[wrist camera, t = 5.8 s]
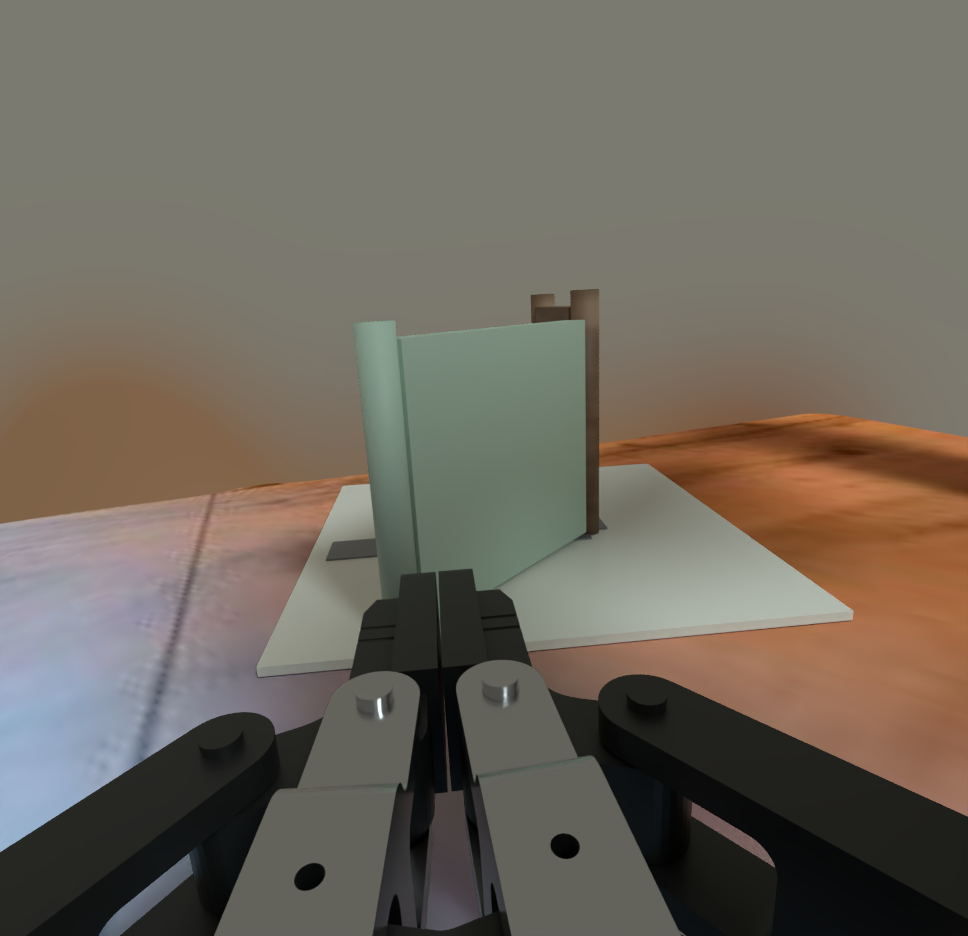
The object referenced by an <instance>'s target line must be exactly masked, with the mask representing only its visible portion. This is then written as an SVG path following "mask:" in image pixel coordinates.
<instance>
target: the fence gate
mask: <svg viewBox="0 0 968 936" xmlns="http://www.w3.org/2000/svg"><path fill="white" fill-rule="evenodd" d="M353 332H354V341H355V350H356V360H357V368H358V379H359V388H360V397H361V406H362V416H363V426H364V434H365V444H366V453H367V463H368V473H369V482H370V491H371V501H372V510H373V519H374V529H375V538H376V548H377V557H378V566H379V576H380V585H381V595H382V599H393V598H399V588H400V578H401V575H402V574H413V573H425V572H436V583H437V596H438V608H439V621H440V600H439V574H438V571H448V570H460V569H473V575H474V581H475V587H476V591H484V590H492V589H494V588H495V587H497V586H499V585H500V584H502V583H504V582H505V581H507V580H509V579H510V578H512V577H513V576H515V575H517V574H518V573H520V572H522V571H523V570H525V569H527V568H528V567H530V566H531V565H533V564H535V563H536V562H538V561H540V560H541V559H543V558H545V557H546V556H548V555H550V554H551V553H553V552H554V551H556V550H558V549H559V548H561V547H563V546H564V545H566V544H568V543H569V542H571V541H573V540H574V539H576V538H577V537H579V536H581V535H582V534H584V533H586V396H585V320H562V321H552V322H542V323H532V324H522V325H513V326H502V327H493V328H482V329H473V330H463V331H452V332H442V333H432V334H422V335H413V336H402V337H396V327H395V321H376V322H375V321H373V322H358V323H353Z"/></svg>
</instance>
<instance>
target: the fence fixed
mask: <svg viewBox="0 0 968 936" xmlns="http://www.w3.org/2000/svg"><path fill="white" fill-rule="evenodd" d="M570 293H571V306H555V301H554V294H539V295H531V318H532V323H542V322H552V321H562V320H585V396H586V533H584V534H590V535H595V534H597V533H599V289H589V290H572V291H570Z"/></svg>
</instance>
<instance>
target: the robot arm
mask: <svg viewBox="0 0 968 936" xmlns="http://www.w3.org/2000/svg"><path fill="white" fill-rule="evenodd" d="M438 574H439V600H440V621H439V608H438V596H437V583H436V572H425V573H413V574H402V575H401V578H400V588H399V598H393V599H382V600H376V601H375V602H374V603H373V604H372V605H371V606H370V607H369V608H368V609H367V610H366V611H365V612H364V614H363V618H362V623H361V631H360V633H359V637H358V643H357V647H356V651H355V656H354V661H353V665H352V670H351V675H350V680H349V681H347V682H346V683H344V684H343V685H341V686H340V687H339V688H338V689H337V690H336V691H335V692H334V694H333V695H332V697H331V699H330V701H329V704H328V706H327V709H326V712H325V714H324V717H322V718H321V719H319V720H317V721H315V722H312V723H310V724H308V725H305V726H302V727H299V728H296V729H293V730H290V731H287V732H284V733H280V734H277V735H275V729H274V726H273V724H272V722H271V721H270V720H269V719H268V718H266V717H265V716H262V715H260V714H256V713H249V712H241V713H232V714H227V715H223V716H219V717H217V718H214V719H211V720H209V721H207V722H204V723H202V724H201V725H199V726H197V727H195V728H194V729H192V730H190V731H189V732H187V733H186V734H184V735H183V736H181V737H180V738H178V739H176V740H175V741H173V742H172V743H170V744H169V745H167V746H166V747H164V748H162V749H161V750H159V751H158V752H156V753H155V754H153V755H151V756H150V757H148V758H147V759H145V760H144V761H142V762H141V763H139V764H137V765H136V766H134V767H133V768H131V769H130V770H128V771H126V772H125V773H123V774H122V775H120V776H119V777H117V778H116V779H114V780H112V781H111V782H109V783H108V784H106V785H105V786H103V787H101V788H100V789H98V790H97V791H95V792H94V793H92V794H91V795H89V796H87V797H86V798H84V799H83V800H81V801H80V802H78V803H76V804H75V805H73V806H72V807H70V808H69V809H67V810H66V811H64V812H62V813H61V814H59V815H58V816H56V817H55V818H53V819H51V820H50V821H48V822H47V823H45V824H44V825H42V826H41V827H39V828H37V829H36V830H34V831H33V832H31V833H30V834H28V835H27V836H25V837H23V838H22V839H20V840H19V841H17V842H16V843H14V844H12V845H11V846H9V847H8V848H6V849H5V850H3V851H2V852H0V936H99V934H100V932H101V930H102V929H103V927H104V926H105V925H106V923H107V922H108V921H109V919H110V918H111V917H112V916H113V915H114V914H115V913H116V912H117V911H118V910H120V909H121V908H122V907H123V906H124V905H126V904H127V903H128V902H129V901H131V900H132V899H133V898H134V897H135V896H137V895H138V894H139V893H140V892H142V891H143V890H144V889H145V888H146V887H148V886H149V885H150V884H151V883H153V882H154V881H155V880H156V879H158V878H159V877H160V876H161V875H162V874H164V873H165V872H166V871H167V870H169V869H170V868H171V867H172V866H174V865H175V864H176V863H177V862H178V861H180V860H181V859H182V858H183V857H185V856H186V855H187V854H188V853H189V856H190V860H191V864H192V869H193V874H192V875H191V876H190V877H189V878H187V879H186V880H185V881H184V882H183V883H182V884H180V885H179V886H178V887H177V888H176V889H174V890H173V891H172V892H171V893H170V894H169V895H167V896H166V897H165V898H164V899H163V900H162V901H160V902H159V903H158V904H157V905H156V906H154V907H153V908H152V909H151V910H150V911H149V912H147V913H146V914H145V915H144V916H143V917H142V918H140V919H139V920H138V921H137V922H136V923H134V924H133V925H132V926H131V927H130V928H129V929H127V930H126V931H125V932H124V933H123V934H121V935H120V936H683V935H681V934H680V932H679V930H680V931H681V932H682V933H683V934H685V935H686V936H968V817H967V816H965V815H963V814H961V813H958V812H956V811H954V810H952V809H950V808H947V807H945V806H943V805H941V804H939V803H936V802H934V801H932V800H930V799H928V798H925V797H923V796H921V795H919V794H917V793H914V792H912V791H910V790H908V789H906V788H904V787H901V786H899V785H897V784H895V783H893V782H890V781H888V780H886V779H884V778H882V777H879V776H877V775H875V774H873V773H871V772H868V771H866V770H864V769H862V768H860V767H857V766H855V765H853V764H851V763H849V762H847V761H844V760H842V759H840V758H838V757H836V756H833V755H831V754H829V753H827V752H825V751H822V750H820V749H818V748H816V747H814V746H811V745H809V744H807V743H805V742H803V741H800V740H798V739H796V738H794V737H792V736H790V735H787V734H785V733H783V732H781V731H779V730H776V729H774V728H772V727H770V726H768V725H765V724H763V723H761V722H759V721H757V720H754V719H752V718H750V717H748V716H746V715H743V714H741V713H739V712H737V711H735V710H733V709H730V708H728V707H726V706H724V705H722V704H719V703H717V702H715V701H713V700H711V699H708V698H706V697H704V696H702V695H700V694H697V693H695V692H693V691H691V690H689V689H686V688H684V687H682V686H680V685H678V684H676V683H673V682H671V681H669V680H666V679H663V678H660V677H656V676H650V675H626V676H622V677H618V678H616V679H613V680H611V681H610V682H608V683H607V684H606V685H605V686H604V687H603V688H602V689H601V691H600V693H599V699H598V701H596V700H588V699H580V698H574V697H569V696H565V695H561V694H559V693H556V692H554V691H552V690H550V689H548V688H547V686H546V684H545V681H544V679H543V677H542V676H541V674H540V673H539V672H538V671H537V670H535V669H534V668H533V667H532V665H531V662H530V658H529V655H528V652H527V648H526V645H525V641H524V638H523V634H522V631H521V628H520V624H519V620H518V617H517V613H516V610H515V606H514V603H513V600H512V599H511V598H510V597H508V596H507V595H506V594H505V593H503V592H502V591H501V590H500V589H495V590H484V591H476V587H475V581H474V575H473V569H460V570H448V571H438ZM440 627H441V634H440ZM443 686H444V687H443ZM444 699H445V712H446V725H447V737H448V750H449V763H450V776H451V788H452V791H459V790H463V793H464V806H465V819H466V833H467V841H468V847H469V853H470V859H471V866H472V872H473V878H474V884H475V890H476V896H477V902H478V909H479V915H480V918H479V919H476V920H474V921H471V922H469V923H466V924H464V925H461V926H459V927H456V928H453V929H450V930H444V931H436V930H428V929H426V921H427V909H428V896H429V883H430V870H431V858H432V845H433V831H432V820H433V817H434V810H435V796H434V793H443V792H448V788H447V763H446V738H445V712H444ZM692 802H694V803H696V804H697V805H699V806H701V807H702V808H704V809H706V810H707V811H709V812H711V813H712V814H714V815H716V816H717V817H719V818H721V819H722V820H724V821H726V822H727V823H729V824H731V825H732V826H734V827H736V828H737V829H739V830H741V831H742V832H744V833H746V834H747V835H749V836H750V837H752V838H753V839H755V840H756V841H757V842H758V843H759V844H760V845H761V846H762V847H763V848H764V849H765V850H766V851H767V853H768V854H769V856H770V857H771V859H772V861H773V862H774V865H775V867H776V868H775V867H773V866H771V865H770V864H768V863H766V862H765V861H763V860H762V859H760V858H758V857H757V856H755V855H753V854H752V853H750V852H749V851H747V850H745V849H744V848H742V847H741V846H739V845H737V844H736V843H734V842H732V841H731V840H729V839H728V838H726V837H724V836H723V835H721V834H719V833H718V832H716V831H715V830H713V829H711V828H710V827H708V826H706V825H705V824H703V823H702V822H700V821H698V820H697V819H695V818H693V817H692V816H691V811H692Z"/></svg>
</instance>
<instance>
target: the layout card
mask: <svg viewBox="0 0 968 936" xmlns="http://www.w3.org/2000/svg"><path fill="white" fill-rule="evenodd" d="M495 589H500V590H501V591H502V592H503V593H505V594H506V595H507V596H508V597H510V598H511V599H512V600H513V603H514V606H515V610H516V613H517V617H518V620H519V624H520V628H521V631H522V634H523V638H524V641H525V645H526V648H527V651H536V650H547V649H557V648H567V647H578V646H588V645H599V644H609V643H619V642H630V641H640V640H651V639H661V638H671V637H682V636H692V635H703V634H713V633H723V632H734V631H744V630H755V629H765V628H775V627H786V626H796V625H807V624H817V623H827V622H838V621H848V620H852V619H853V610H851V609H850V608H849V607H847V606H846V605H844V604H843V603H842V602H840V601H839V600H837V599H836V598H835V597H833V596H832V595H830V594H829V593H828V592H826V591H825V590H823V589H822V588H821V587H819V586H818V585H816V584H815V583H814V582H812V581H811V580H809V579H808V578H807V577H805V576H804V575H802V574H801V573H800V572H798V571H797V570H795V569H794V568H793V567H791V566H790V565H789V564H787V563H786V562H784V561H783V560H782V559H780V558H779V557H777V556H776V555H775V554H773V553H772V552H770V551H769V550H768V549H766V548H765V547H763V546H762V545H761V544H759V543H758V542H756V541H755V540H754V539H752V538H751V537H749V536H748V535H747V534H745V533H744V532H742V531H741V530H740V529H738V528H737V527H735V526H734V525H733V524H731V523H730V522H728V521H727V520H726V519H724V518H723V517H721V516H720V515H719V514H717V513H716V512H715V511H713V510H712V509H710V508H709V507H708V506H706V505H705V504H703V503H702V502H701V501H699V500H698V499H696V498H695V497H694V496H692V495H691V494H689V493H688V492H687V491H685V490H684V489H682V488H681V487H680V486H678V485H677V484H675V483H674V482H673V481H671V480H670V479H668V478H667V477H666V476H664V475H663V474H661V473H660V472H659V471H657V470H656V469H654V468H653V467H652V466H650V465H649V464H634V465H620V466H607V467H599V533H597V534H595V535H590V534H582V535H581V536H579V537H577V538H576V539H574V540H573V541H571V542H569V543H568V544H566V545H564V546H563V547H561V548H559V549H558V550H556V551H554V552H553V553H551V554H550V555H548V556H546V557H545V558H543V559H541V560H540V561H538V562H536V563H535V564H533V565H531V566H530V567H528V568H527V569H525V570H523V571H522V572H520V573H518V574H517V575H515V576H513V577H512V578H510V579H509V580H507V581H505V582H504V583H502V584H500V585H499V586H497V587H495V588H494V589H492V590H495ZM376 600H382V595H381V585H380V576H379V566H378V557H377V548H376V538H375V529H374V519H373V510H372V501H371V491H370V484H364V485H350V486H343V487H342V489H341V491H340V493H339V495H338V498H337V500H336V502H335V504H334V506H333V508H332V510H331V512H330V514H329V516H328V518H327V521H326V523H325V525H324V527H323V529H322V531H321V533H320V535H319V537H318V539H317V542H316V544H315V546H314V548H313V550H312V552H311V554H310V556H309V558H308V560H307V562H306V565H305V567H304V569H303V571H302V573H301V575H300V577H299V579H298V581H297V583H296V585H295V588H294V590H293V592H292V594H291V596H290V598H289V600H288V602H287V604H286V606H285V609H284V611H283V613H282V615H281V617H280V619H279V621H278V623H277V625H276V627H275V629H274V632H273V634H272V636H271V638H270V640H269V642H268V644H267V646H266V648H265V650H264V653H263V655H262V657H261V659H260V661H259V663H258V665H257V667H256V669H257V675H258V677H266V676H276V675H286V674H297V673H307V672H318V671H328V670H338V669H349V668H352V665H353V661H354V656H355V651H356V647H357V643H358V637H359V633H360V631H361V623H362V618H363V614H364V612H365V611H366V610H367V609H368V608H369V607H370V606H371V605H372V604H373V603H374V602H375V601H376ZM440 634H441V627H440Z"/></svg>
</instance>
